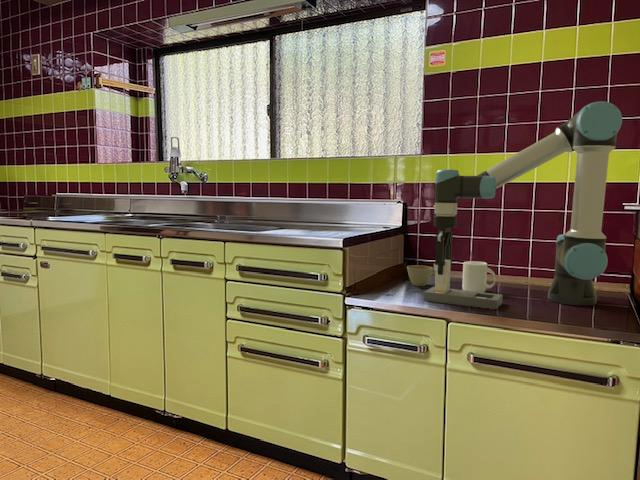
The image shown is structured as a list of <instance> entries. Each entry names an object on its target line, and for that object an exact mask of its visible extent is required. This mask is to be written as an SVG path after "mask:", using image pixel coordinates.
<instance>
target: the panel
mask: <svg viewBox="0 0 640 480" xmlns="http://www.w3.org/2000/svg"><path fill="white" fill-rule="evenodd" d="M503 297H504V296H503V294H501V293H490V292H484V293H483V292H474V291H465V290H463V289H455V288H454V289H453V288H450V289H449V293H441V292H435V286H432V287H429V288H428V289H427V290H425V291H423V301H425V302H432V303H433V302H434V303H441V304H448V305H449V304H450V305H457V306H464V307H471V306H472V307H473V308H479V307H480V308H482V309H486V308H489V309H488V310H494V309H497V308H498V307H499V306H501V305H502V304H503ZM472 307H471V308H472ZM499 308H500V307H499ZM499 308H498V309H499ZM498 309H497V310H498Z"/></svg>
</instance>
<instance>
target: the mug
mask: <svg viewBox="0 0 640 480" xmlns="http://www.w3.org/2000/svg"><path fill="white" fill-rule="evenodd" d="M462 264H463V265H462V283H461V284H462V286H461V287H462V288H461V290H465V291H474V292H483V293H486V290H489V289H492V288H493V287H494V286H495V283H496V280H497V279H496V273H495V272H494V270H492V269H491V268H490V267H488V263H487V262H485V261H477V260H476V261H473V260H472V261H471V260H470V261H469V260H468V261H464V262H463V263H462ZM488 273H489V274H491V275H492V276H493V278H494V280H493V282H492V283H491V284H488V283H487V280H488V278H487V276H488Z"/></svg>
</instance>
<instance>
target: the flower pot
mask: <svg viewBox="0 0 640 480" xmlns="http://www.w3.org/2000/svg"><path fill="white" fill-rule="evenodd" d="M406 270H407V273H408V278H409V280H410V282H411V284H412V285H413V286H416V287H425V286H426V285H427V284H428V283H429V280H430V279H431V276H432V273H433V271H434V267H433V266H428V265H407V266H406Z"/></svg>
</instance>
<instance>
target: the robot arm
mask: <svg viewBox="0 0 640 480" xmlns="http://www.w3.org/2000/svg"><path fill="white" fill-rule="evenodd" d="M622 123H623V116H622V112H621V110H620V109H619V108H618V106H617V105H615V104H613V103H611V102H609V101H601V100H600V101H595V102H591V103H589V104H586V105H584V106H583V107H582V108H581V109H580V110H579V111H577V112H576V113H574V115H573V116H572V117H570V118H569V119H568V120H567V121H565V122H564V123H563V124H562V123H561V125H559V126H557V127H556V128H555V131H554V132H552V133H551V134H549V135H547V136H546V137H544V138H541V139H540V140H538V141H536V142H534V143H533V144H531V145H530V146H527V147H526V148H524V149H522V150H520V151H518V152H517V153H514V154H513V155H511V156H510V157H508V158H506V159H504V160H502V161H500V162H499V163H497V164H495V165H493V166H491V167H490V168H488V169H486V170H485V171H482V172H481V173H478V174H477V175H460V173H459V170H458V169H438V170H437V171H436V173H435V182H434V204H433V206H432V207H433V208H434V216H433V226H434V227H436V228H438V231H437V234H436V235H434V236H435V258H434V259H435V262H434V263H435V265H437V282H436V284H445V268H446V265H445V259H446V260H451V264H452V263H453V260H452V255H453V252H452V251H453V236H454V233H453V232H452V231H451V230H452V228H457V221H458V220H457V218H458V217H457V214H458V199H478V200H479V199H483V200H488V199H493V198H494V199H495V197H496V190H497V189H498V188H501V187H502V186H505V185H506V184H508V183H510V182H512V181H514V180H516V179H518V178H520V177H521V176H523V175H525V174H527V173H529V172H530V171H532V170H535V169H537V168H539V167H540V166H542V165H544V164H545V163H547V162H549V161H551V160H554V159H556V158H557V157H559V156H561V155H562V154H564V153H566V152H567V153H572V152H576V164H575V165H576V166H575V175H574V176H575V178H574V186H573V197H572V207H571V208H572V209H571V219H570V228H569V230H568V231H567V232H566V233H564V234H559V235H557V236H556V242H555V246H556V247H555V263H554V264H555V265H554V276H553V279H552V282H551V285H550V287H549V289H548V292H547V299H548V301H552V302H554V303H558V304H564V305H569V306H582V307H583V306H594V305H596V304H597V301H598V297H597V292H596V289H595V286H594V282H593V279H596V278H598V277H600V276H601V275H602V274H603V273H605V270H606V269H607V267H608V261H609V260H608V255H607V253H606V244H607V236H606V235H605V234H604V233H603V232H602V228H603V219H604V218H603V217H604V210H605V209H604V206H605V199H606V198H605V197H606V189H607V188H606V187H607V176H608V167H609V157H610V153H611V152H612V151H614V150H615V149H616V146H617V145H616V144H617V138H618V137H617V135H618V133H619V131H620V130H621V127H622Z"/></svg>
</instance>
